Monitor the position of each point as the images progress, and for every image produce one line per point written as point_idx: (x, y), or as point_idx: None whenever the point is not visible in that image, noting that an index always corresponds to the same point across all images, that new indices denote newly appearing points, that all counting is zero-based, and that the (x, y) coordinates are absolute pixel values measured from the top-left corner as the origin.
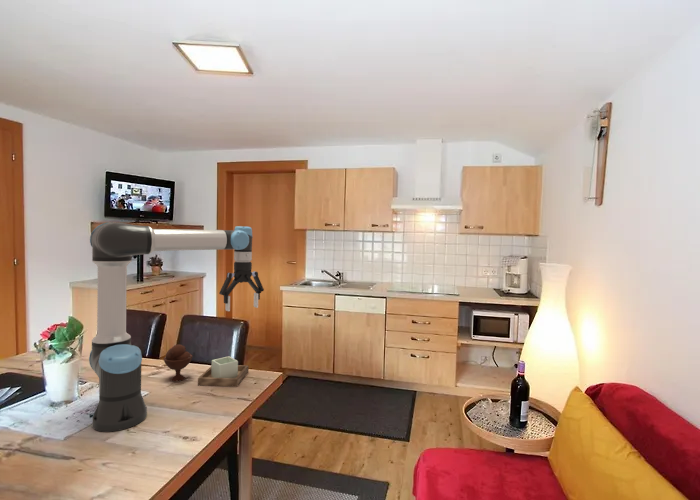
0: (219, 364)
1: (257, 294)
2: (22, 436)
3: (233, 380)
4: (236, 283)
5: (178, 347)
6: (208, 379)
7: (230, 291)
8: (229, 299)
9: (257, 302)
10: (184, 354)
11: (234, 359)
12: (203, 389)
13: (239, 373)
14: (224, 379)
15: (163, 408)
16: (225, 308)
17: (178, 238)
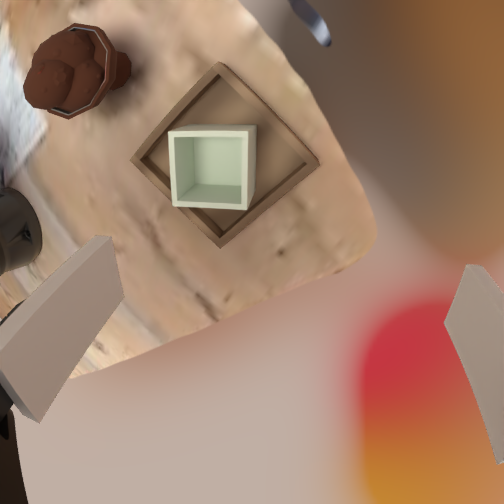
0: (173, 198)
1: (499, 450)
2: None
3: (212, 239)
4: None
5: (33, 102)
6: (154, 183)
7: (13, 474)
8: (53, 387)
9: (470, 365)
10: (68, 104)
11: (245, 184)
12: (144, 192)
13: (277, 164)
14: (191, 219)
15: (62, 230)
16: (84, 246)
17: None
